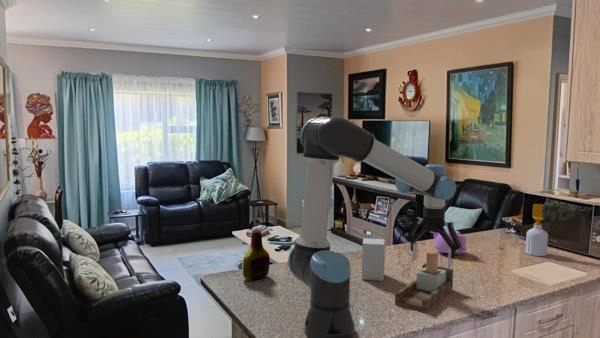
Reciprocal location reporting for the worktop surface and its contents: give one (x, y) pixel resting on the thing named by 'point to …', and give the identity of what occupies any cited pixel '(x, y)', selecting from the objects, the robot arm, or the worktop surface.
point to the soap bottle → (537, 235)
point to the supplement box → (373, 259)
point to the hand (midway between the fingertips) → (432, 263)
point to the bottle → (256, 259)
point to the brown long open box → (423, 294)
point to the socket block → (430, 280)
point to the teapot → (444, 247)
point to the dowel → (432, 263)
